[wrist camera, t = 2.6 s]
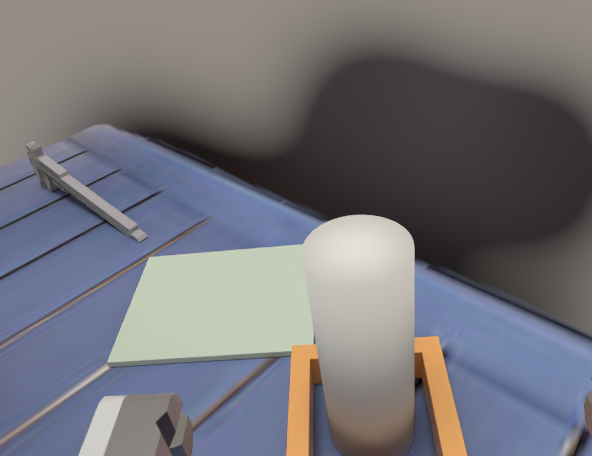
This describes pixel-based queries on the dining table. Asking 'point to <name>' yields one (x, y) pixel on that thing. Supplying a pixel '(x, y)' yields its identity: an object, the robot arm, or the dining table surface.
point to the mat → (217, 308)
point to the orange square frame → (425, 367)
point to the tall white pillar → (364, 331)
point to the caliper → (79, 191)
